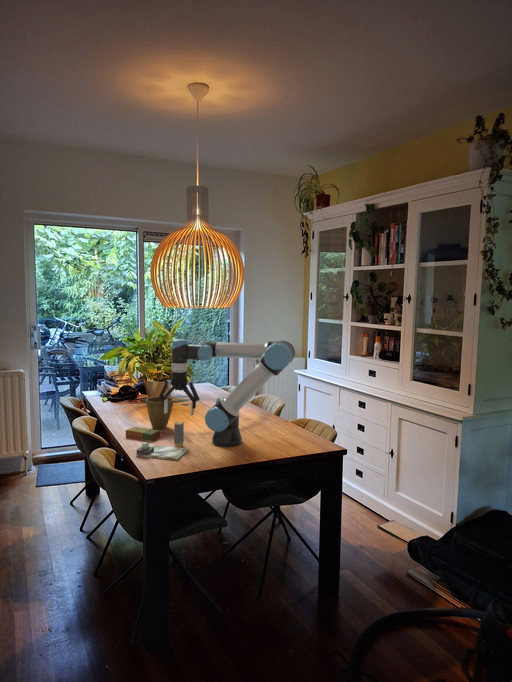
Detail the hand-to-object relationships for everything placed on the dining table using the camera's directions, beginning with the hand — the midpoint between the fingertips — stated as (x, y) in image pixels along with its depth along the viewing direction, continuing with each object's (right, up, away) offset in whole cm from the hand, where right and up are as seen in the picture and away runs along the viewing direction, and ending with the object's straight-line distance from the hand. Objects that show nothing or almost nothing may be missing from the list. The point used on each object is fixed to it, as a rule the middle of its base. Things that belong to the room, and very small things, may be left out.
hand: (178, 414), depth 244 cm
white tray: (-6, -17, -9) cm, 20 cm away
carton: (-21, -15, +15) cm, 30 cm away
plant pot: (-16, -13, +34) cm, 39 cm away
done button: (-14, -15, -12) cm, 23 cm away
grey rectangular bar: (0, -16, +2) cm, 16 cm away
